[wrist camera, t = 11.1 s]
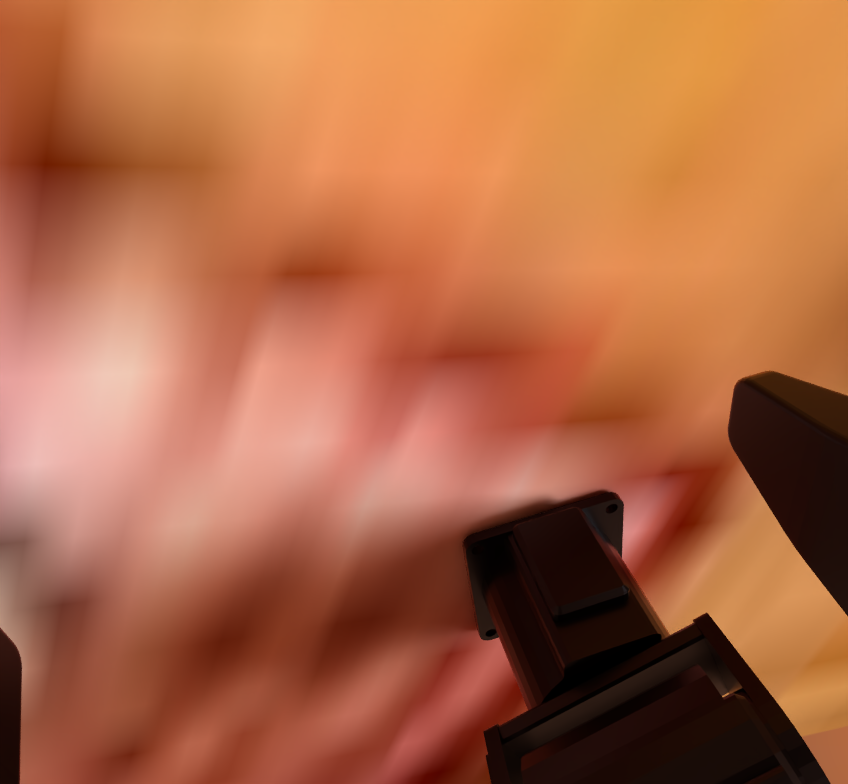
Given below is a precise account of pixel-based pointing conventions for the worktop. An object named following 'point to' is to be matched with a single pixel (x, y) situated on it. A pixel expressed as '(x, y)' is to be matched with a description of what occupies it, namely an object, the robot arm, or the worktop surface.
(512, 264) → the worktop surface
